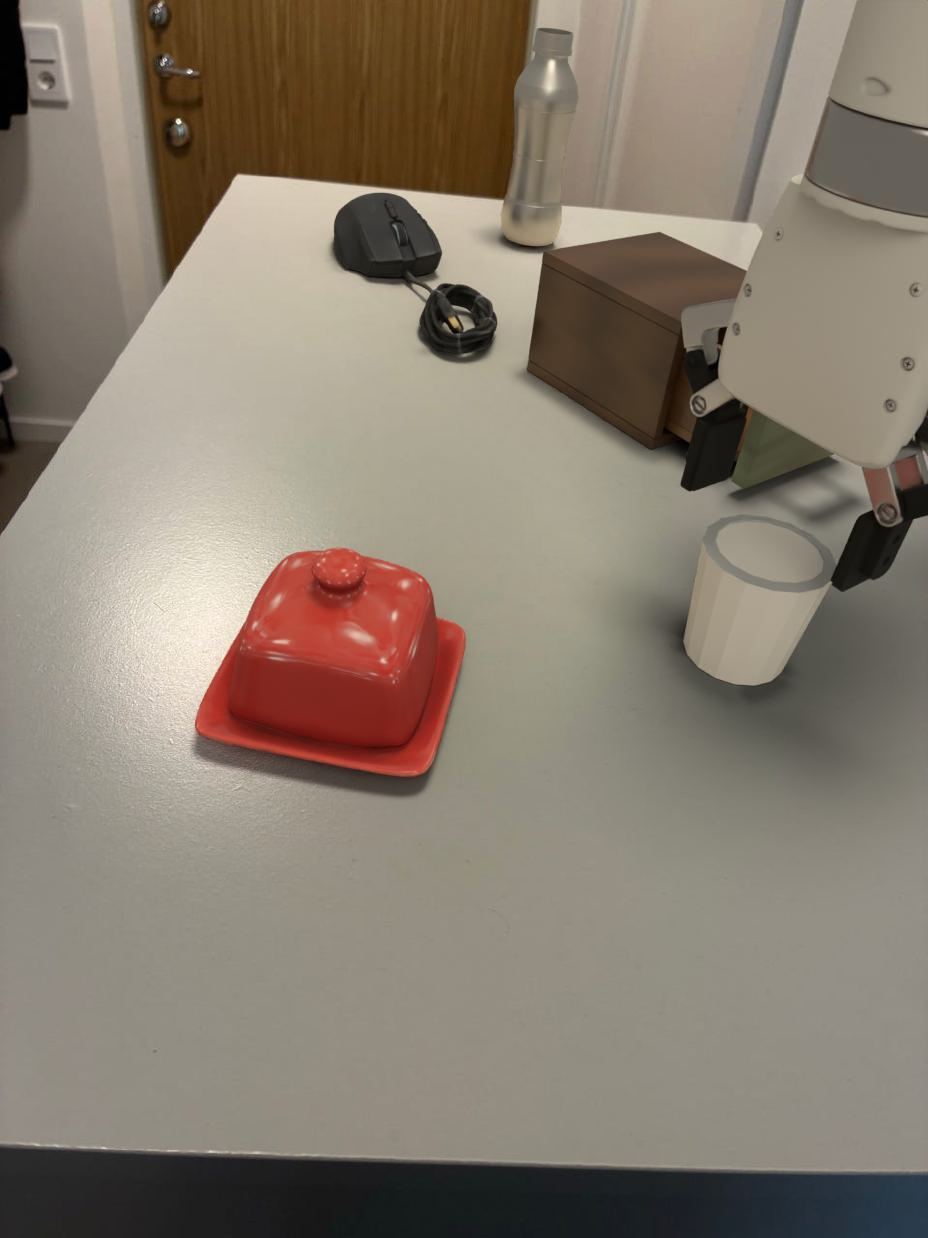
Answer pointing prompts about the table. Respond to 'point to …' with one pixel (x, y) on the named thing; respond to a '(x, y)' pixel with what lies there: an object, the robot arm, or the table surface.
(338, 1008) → the table surface
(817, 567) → the white cup
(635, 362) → the cabinet
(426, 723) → the butter dish
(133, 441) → the table surface
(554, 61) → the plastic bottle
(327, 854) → the table surface
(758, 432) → the drawer
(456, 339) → the computer mouse
